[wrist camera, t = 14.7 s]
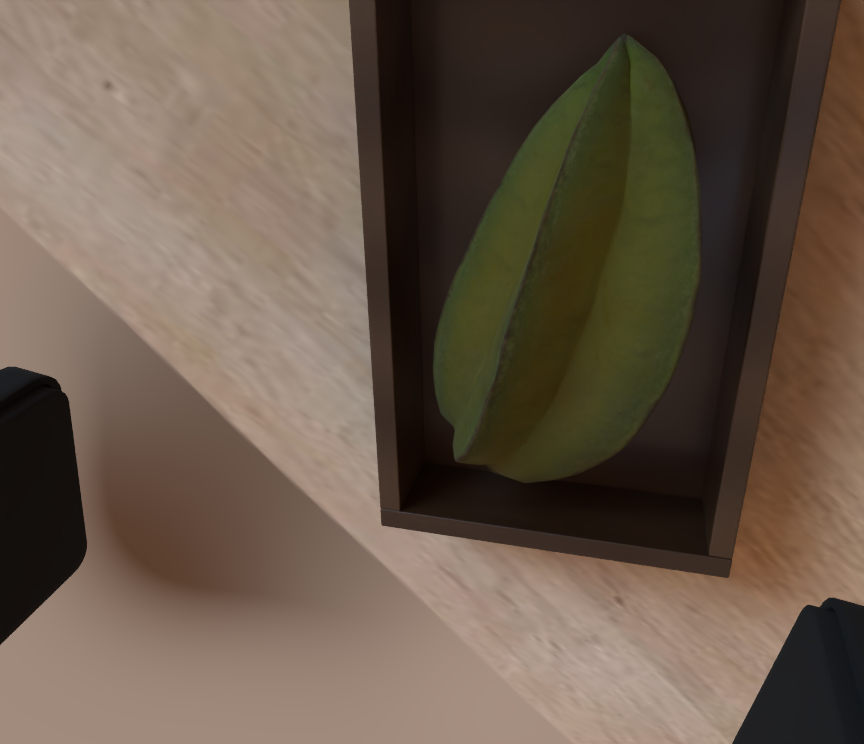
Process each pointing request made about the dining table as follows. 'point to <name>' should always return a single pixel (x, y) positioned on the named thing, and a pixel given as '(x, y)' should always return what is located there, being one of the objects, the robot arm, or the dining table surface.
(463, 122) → the holder
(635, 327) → the fruit
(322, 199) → the dining table surface
